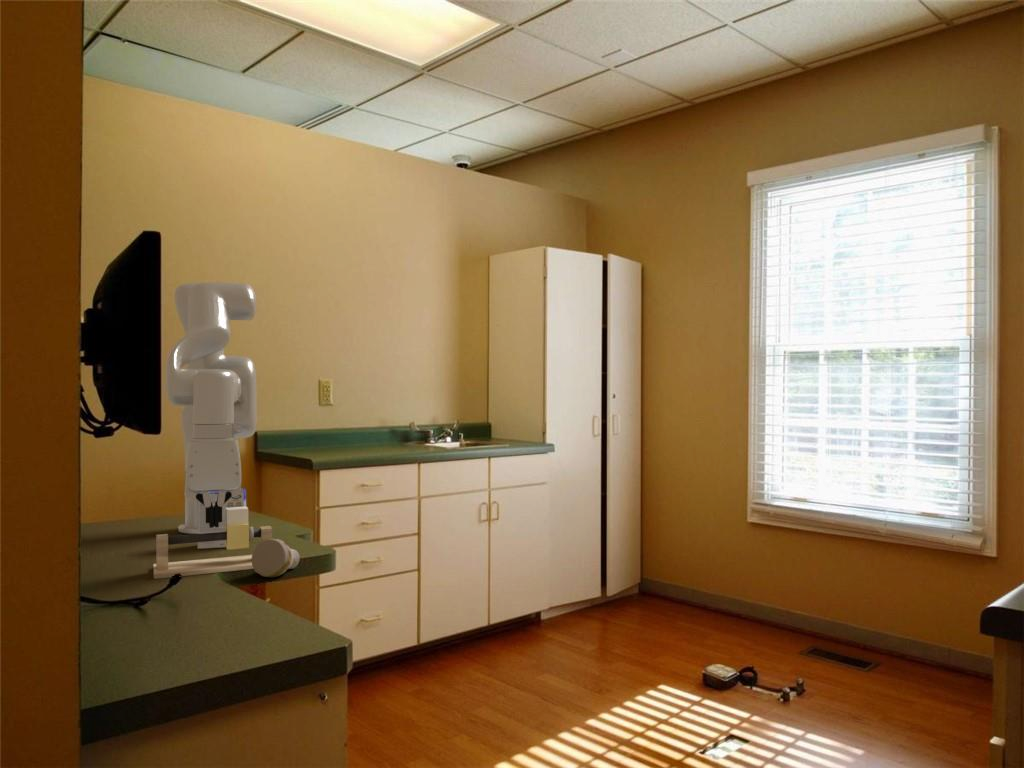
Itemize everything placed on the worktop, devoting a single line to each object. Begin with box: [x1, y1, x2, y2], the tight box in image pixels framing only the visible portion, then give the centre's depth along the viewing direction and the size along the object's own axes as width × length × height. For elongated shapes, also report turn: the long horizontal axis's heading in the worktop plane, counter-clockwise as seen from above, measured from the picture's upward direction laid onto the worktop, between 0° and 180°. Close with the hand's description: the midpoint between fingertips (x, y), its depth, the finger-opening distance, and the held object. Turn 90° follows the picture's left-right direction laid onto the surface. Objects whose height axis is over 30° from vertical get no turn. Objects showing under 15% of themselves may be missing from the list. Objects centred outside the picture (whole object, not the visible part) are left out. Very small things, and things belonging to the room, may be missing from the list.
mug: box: [251, 538, 300, 578], centre depth 146 cm, size 8×10×10 cm
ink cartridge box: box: [196, 488, 247, 550], centre depth 170 cm, size 10×6×14 cm, turn 105°
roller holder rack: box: [152, 525, 273, 580], centre depth 150 cm, size 9×22×7 cm, turn 115°
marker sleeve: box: [225, 505, 250, 551], centre depth 152 cm, size 5×4×8 cm
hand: (213, 526), depth 150 cm, fingers closed
